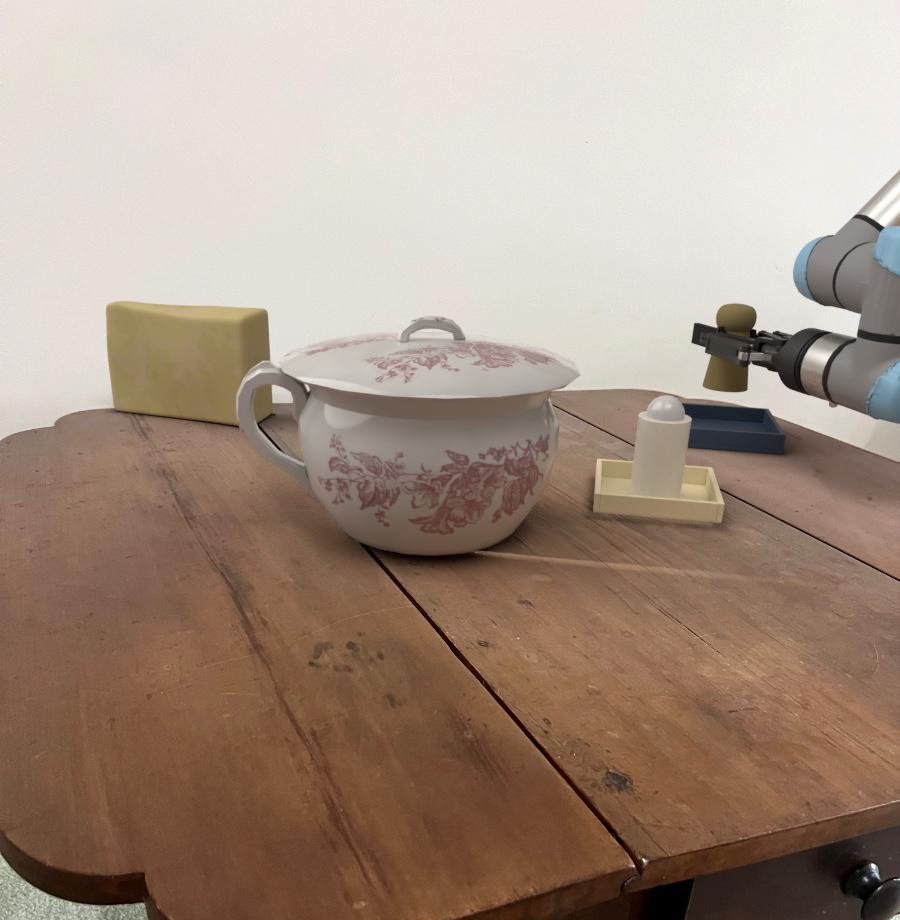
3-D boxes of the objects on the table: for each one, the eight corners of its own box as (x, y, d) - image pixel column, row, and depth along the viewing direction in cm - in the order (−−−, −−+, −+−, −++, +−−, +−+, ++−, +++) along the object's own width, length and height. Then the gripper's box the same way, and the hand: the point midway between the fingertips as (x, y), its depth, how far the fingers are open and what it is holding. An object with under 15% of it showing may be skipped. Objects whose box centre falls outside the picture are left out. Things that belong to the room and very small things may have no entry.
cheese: (98, 418, 127) (83, 304, 120) (132, 402, 135) (119, 296, 129) (251, 430, 123) (243, 314, 117) (275, 413, 132) (270, 304, 126)
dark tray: (765, 426, 135) (768, 408, 134) (782, 454, 121) (785, 435, 120) (660, 418, 137) (662, 401, 136) (665, 445, 123) (667, 426, 122)
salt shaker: (678, 491, 104) (692, 392, 99) (681, 507, 99) (697, 403, 94) (628, 487, 104) (640, 388, 100) (629, 503, 99) (641, 399, 94)
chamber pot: (611, 523, 95) (634, 315, 86) (470, 617, 74) (482, 356, 65) (393, 472, 109) (394, 288, 100) (222, 539, 88) (204, 314, 79)
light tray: (709, 488, 107) (712, 467, 106) (720, 527, 95) (724, 504, 94) (594, 479, 108) (597, 458, 107) (592, 517, 97) (594, 493, 96)
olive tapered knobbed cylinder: (716, 392, 123) (730, 307, 118) (694, 383, 128) (706, 301, 123) (756, 391, 124) (771, 307, 120) (732, 382, 130) (746, 301, 125)
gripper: (757, 400, 107) (652, 361, 127) (874, 394, 112) (756, 358, 132) (769, 333, 104) (659, 305, 124) (888, 331, 109) (765, 304, 129)
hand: (709, 332), depth 128 cm, fingers closed on olive tapered knobbed cylinder, 4 cm apart
